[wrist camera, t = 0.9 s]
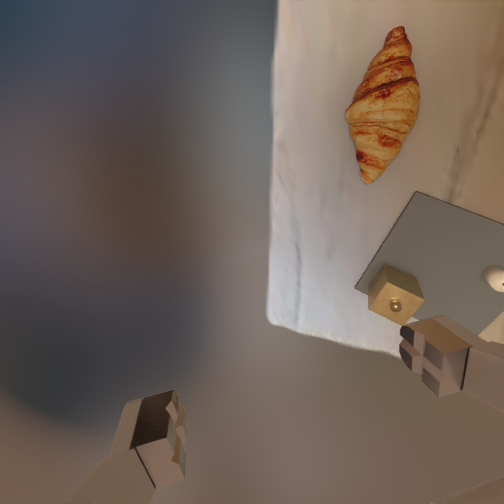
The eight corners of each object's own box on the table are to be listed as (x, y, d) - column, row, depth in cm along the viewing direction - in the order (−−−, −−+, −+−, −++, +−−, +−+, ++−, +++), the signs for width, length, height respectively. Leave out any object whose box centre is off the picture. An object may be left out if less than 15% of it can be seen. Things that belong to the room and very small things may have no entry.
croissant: (384, 181, 47) (413, 188, 40) (332, 181, 47) (351, 189, 39) (412, 38, 39) (455, 14, 32) (349, 36, 38) (378, 11, 31)
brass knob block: (384, 263, 48) (387, 284, 41) (416, 277, 47) (426, 303, 39) (368, 287, 51) (368, 312, 43) (398, 302, 50) (403, 329, 42)
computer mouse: (490, 263, 42) (502, 274, 38) (509, 271, 41) (523, 283, 38) (478, 277, 43) (489, 289, 40) (496, 284, 43) (508, 297, 39)
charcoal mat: (415, 191, 43) (416, 191, 42) (564, 247, 38) (567, 249, 38) (355, 286, 53) (354, 288, 52) (467, 341, 48) (468, 344, 48)
